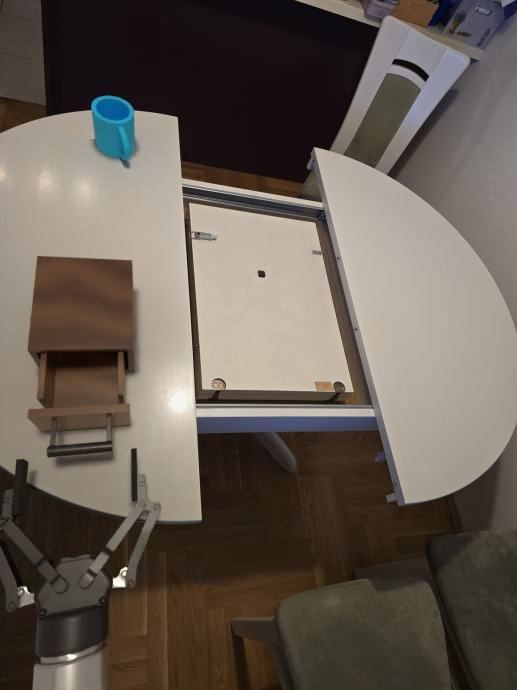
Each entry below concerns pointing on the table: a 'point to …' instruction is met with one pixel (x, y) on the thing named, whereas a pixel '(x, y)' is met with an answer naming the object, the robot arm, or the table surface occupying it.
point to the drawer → (81, 397)
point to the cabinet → (82, 307)
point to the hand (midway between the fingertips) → (80, 454)
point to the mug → (113, 126)
